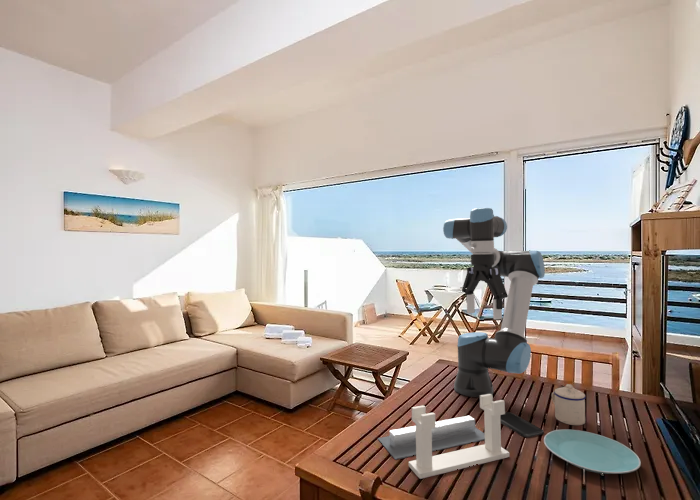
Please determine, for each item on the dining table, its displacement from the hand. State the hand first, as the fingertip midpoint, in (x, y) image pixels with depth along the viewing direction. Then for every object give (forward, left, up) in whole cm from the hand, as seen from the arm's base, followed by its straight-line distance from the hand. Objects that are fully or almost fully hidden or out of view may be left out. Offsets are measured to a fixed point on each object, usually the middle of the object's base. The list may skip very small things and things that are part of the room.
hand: (483, 315), depth 127 cm
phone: (+8, +6, -35) cm, 37 cm away
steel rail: (+6, -24, -34) cm, 42 cm away
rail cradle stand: (+19, -24, -35) cm, 46 cm away
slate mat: (+6, -24, -35) cm, 43 cm away
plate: (+30, +10, -35) cm, 47 cm away
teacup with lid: (+10, +25, -35) cm, 44 cm away
